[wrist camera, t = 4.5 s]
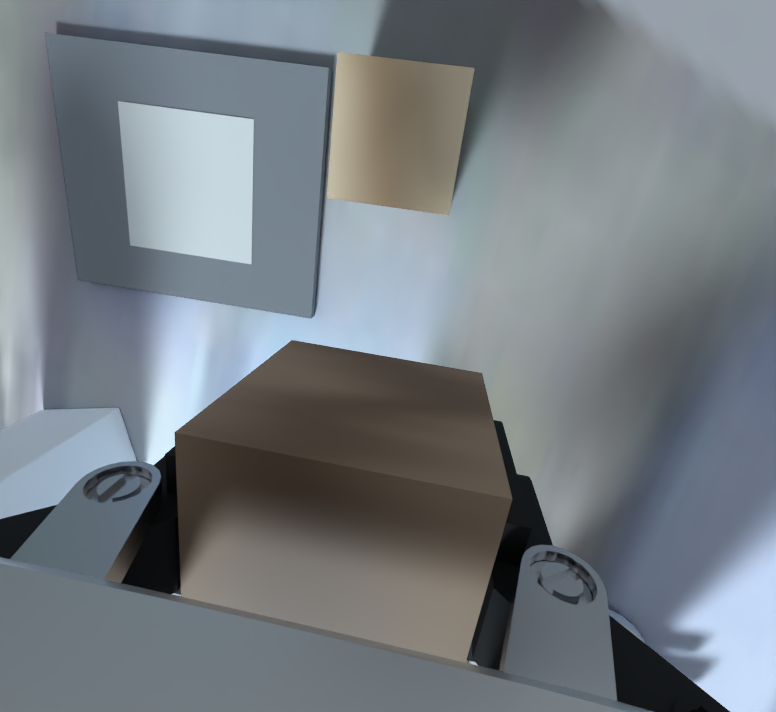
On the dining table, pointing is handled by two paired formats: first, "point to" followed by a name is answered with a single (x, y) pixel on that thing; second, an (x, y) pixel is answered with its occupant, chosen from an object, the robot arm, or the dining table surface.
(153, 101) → the mat
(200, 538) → the walnut block
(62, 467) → the milk
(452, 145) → the oak block
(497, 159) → the dining table surface
